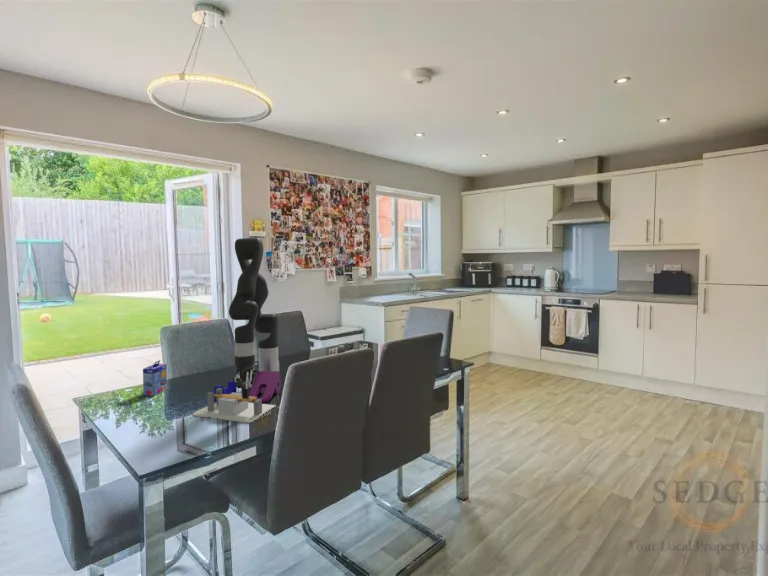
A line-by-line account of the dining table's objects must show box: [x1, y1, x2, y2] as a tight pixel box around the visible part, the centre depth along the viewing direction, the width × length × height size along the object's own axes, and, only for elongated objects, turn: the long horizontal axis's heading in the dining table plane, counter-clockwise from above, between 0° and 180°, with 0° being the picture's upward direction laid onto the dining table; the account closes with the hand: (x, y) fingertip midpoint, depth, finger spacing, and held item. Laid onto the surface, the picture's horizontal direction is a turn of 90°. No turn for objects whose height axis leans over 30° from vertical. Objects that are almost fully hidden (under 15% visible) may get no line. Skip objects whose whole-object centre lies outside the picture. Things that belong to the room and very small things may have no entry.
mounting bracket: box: [249, 370, 282, 404], centre depth 185 cm, size 9×8×18 cm
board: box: [192, 388, 276, 424], centre depth 167 cm, size 17×26×8 cm, turn 73°
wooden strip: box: [214, 393, 256, 403], centre depth 165 cm, size 19×3×1 cm, turn 73°
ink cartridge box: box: [142, 360, 168, 397], centre depth 190 cm, size 10×6×14 cm, turn 175°
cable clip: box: [213, 380, 237, 402], centre depth 182 cm, size 12×4×6 cm, turn 168°
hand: (245, 397), depth 163 cm, fingers closed
